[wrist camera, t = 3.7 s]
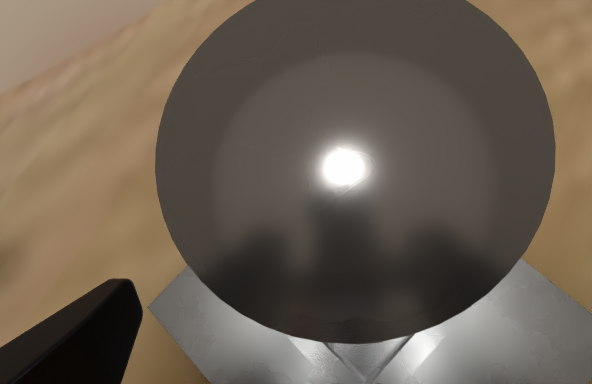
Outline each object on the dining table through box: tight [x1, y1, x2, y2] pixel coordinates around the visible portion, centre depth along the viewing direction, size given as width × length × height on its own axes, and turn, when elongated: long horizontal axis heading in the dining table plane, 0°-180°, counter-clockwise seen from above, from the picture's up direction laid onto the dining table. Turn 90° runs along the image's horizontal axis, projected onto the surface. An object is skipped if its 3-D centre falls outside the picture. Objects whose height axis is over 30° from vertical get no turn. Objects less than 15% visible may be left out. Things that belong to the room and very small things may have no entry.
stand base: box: [147, 258, 592, 384], centre depth 16 cm, size 14×12×4 cm
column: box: [155, 0, 555, 344], centre depth 11 cm, size 5×5×13 cm
